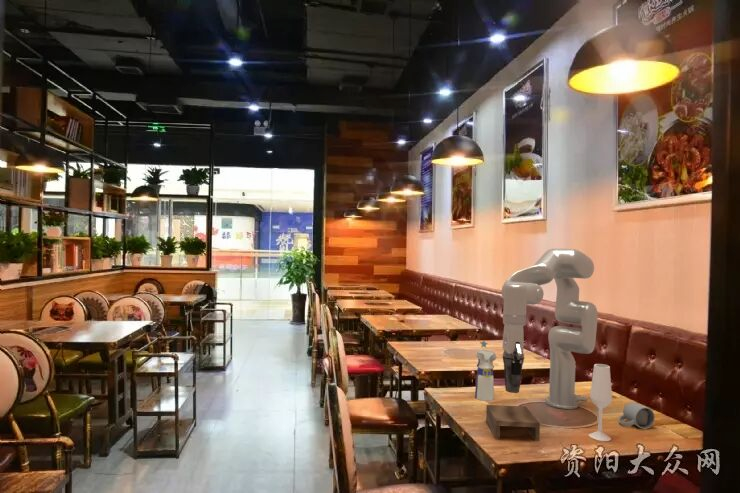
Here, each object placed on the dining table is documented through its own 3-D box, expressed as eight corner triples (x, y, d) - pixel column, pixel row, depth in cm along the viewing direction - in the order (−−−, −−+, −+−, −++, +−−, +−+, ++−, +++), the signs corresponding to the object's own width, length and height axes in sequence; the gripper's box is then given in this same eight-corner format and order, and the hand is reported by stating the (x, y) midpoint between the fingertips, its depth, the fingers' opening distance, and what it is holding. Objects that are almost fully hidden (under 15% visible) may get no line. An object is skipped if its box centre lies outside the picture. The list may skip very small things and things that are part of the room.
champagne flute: (584, 434, 162) (586, 364, 162) (598, 431, 165) (600, 362, 165) (600, 442, 156) (603, 368, 156) (615, 439, 159) (617, 367, 159)
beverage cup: (524, 395, 159) (526, 335, 159) (502, 393, 161) (503, 333, 161) (522, 388, 166) (523, 331, 166) (500, 387, 168) (502, 330, 168)
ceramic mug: (639, 420, 177) (639, 399, 177) (655, 428, 169) (655, 407, 169) (613, 421, 176) (613, 400, 176) (627, 430, 168) (628, 408, 168)
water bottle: (497, 401, 195) (499, 340, 195) (476, 401, 195) (478, 339, 195) (492, 395, 203) (494, 336, 203) (472, 394, 203) (474, 336, 203)
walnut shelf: (525, 423, 171) (525, 406, 171) (539, 441, 155) (539, 422, 155) (486, 421, 172) (486, 404, 172) (495, 439, 156) (496, 420, 156)
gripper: (497, 315, 172) (496, 365, 172) (509, 323, 155) (508, 378, 155) (518, 316, 172) (517, 366, 172) (533, 324, 155) (531, 379, 155)
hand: (512, 371), depth 164 cm, fingers closed on beverage cup, 6 cm apart
